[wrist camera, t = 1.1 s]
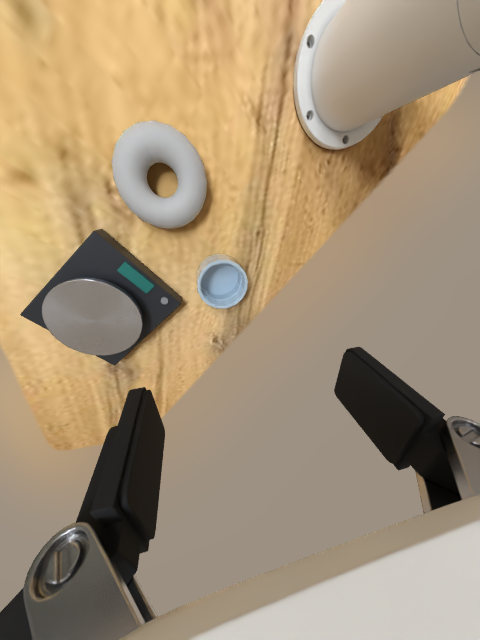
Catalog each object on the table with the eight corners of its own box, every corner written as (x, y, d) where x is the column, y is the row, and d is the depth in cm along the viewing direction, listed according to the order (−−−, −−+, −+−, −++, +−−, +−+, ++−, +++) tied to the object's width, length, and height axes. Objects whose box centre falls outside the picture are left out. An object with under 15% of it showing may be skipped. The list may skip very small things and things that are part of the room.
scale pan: (81, 257, 23) (78, 259, 23) (160, 317, 29) (159, 319, 28) (25, 319, 25) (21, 322, 24) (110, 364, 31) (108, 367, 30)
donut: (165, 243, 28) (222, 193, 26) (161, 248, 25) (226, 192, 23) (97, 168, 23) (163, 101, 21) (83, 163, 20) (158, 85, 18)
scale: (101, 228, 25) (92, 230, 23) (182, 297, 32) (181, 304, 29) (32, 306, 28) (17, 316, 26) (119, 355, 34) (114, 367, 32)
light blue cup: (220, 243, 29) (225, 248, 25) (249, 276, 33) (257, 286, 29) (186, 275, 30) (186, 285, 27) (217, 304, 34) (221, 317, 30)
